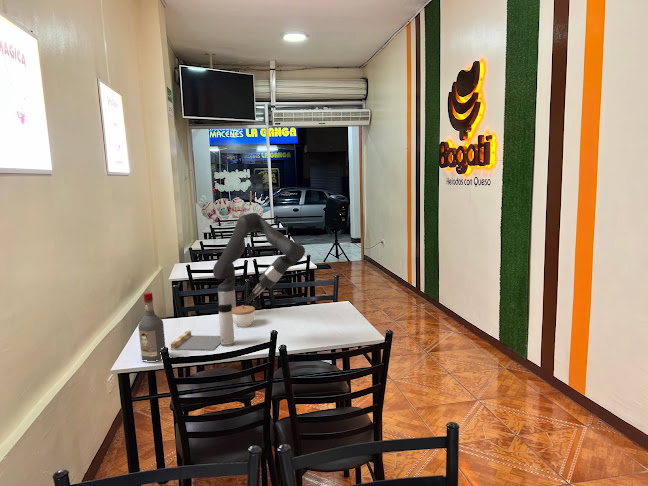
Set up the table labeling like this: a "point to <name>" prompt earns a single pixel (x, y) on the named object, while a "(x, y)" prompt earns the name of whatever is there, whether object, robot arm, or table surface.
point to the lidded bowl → (243, 315)
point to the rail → (180, 340)
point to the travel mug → (226, 325)
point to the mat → (200, 343)
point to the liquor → (151, 332)
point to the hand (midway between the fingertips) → (247, 301)
